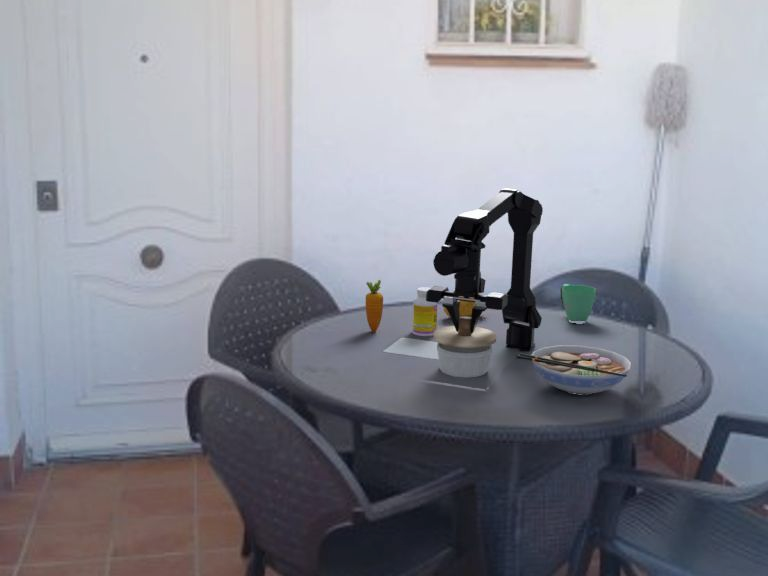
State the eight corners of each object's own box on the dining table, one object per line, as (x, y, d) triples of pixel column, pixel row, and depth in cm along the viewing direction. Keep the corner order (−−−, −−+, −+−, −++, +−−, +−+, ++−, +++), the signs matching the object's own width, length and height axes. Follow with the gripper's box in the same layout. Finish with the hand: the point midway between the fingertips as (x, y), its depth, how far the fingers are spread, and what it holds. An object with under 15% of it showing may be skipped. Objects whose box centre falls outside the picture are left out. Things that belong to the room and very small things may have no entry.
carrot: (362, 334, 253) (363, 281, 249) (367, 329, 258) (368, 277, 254) (380, 336, 252) (381, 282, 248) (384, 331, 256) (385, 278, 253)
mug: (600, 325, 267) (603, 292, 265) (570, 327, 265) (572, 293, 262) (575, 312, 281) (578, 280, 279) (546, 314, 278) (548, 282, 276)
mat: (465, 347, 243) (465, 346, 243) (449, 363, 231) (449, 361, 231) (401, 339, 250) (401, 337, 250) (382, 353, 237) (382, 351, 237)
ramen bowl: (645, 386, 217) (648, 353, 215) (616, 416, 198) (620, 380, 196) (545, 367, 229) (547, 335, 227) (508, 393, 210) (510, 359, 208)
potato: (491, 317, 273) (493, 294, 271) (450, 323, 266) (451, 299, 265) (478, 312, 279) (479, 289, 278) (437, 317, 273) (438, 293, 271)
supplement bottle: (436, 338, 251) (438, 292, 248) (412, 337, 251) (413, 291, 248) (435, 331, 258) (437, 286, 255) (412, 330, 258) (413, 285, 255)
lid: (502, 334, 227) (504, 314, 225) (486, 351, 213) (487, 330, 212) (444, 326, 232) (445, 307, 231) (424, 342, 218) (425, 322, 217)
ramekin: (446, 383, 216) (447, 354, 215) (428, 365, 229) (429, 338, 227) (499, 379, 220) (500, 351, 219) (478, 362, 232) (479, 335, 231)
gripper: (514, 266, 222) (511, 328, 226) (440, 258, 229) (438, 319, 233) (503, 275, 212) (499, 340, 216) (426, 267, 219) (424, 330, 223)
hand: (465, 332), depth 222 cm, fingers closed on lid, 3 cm apart
